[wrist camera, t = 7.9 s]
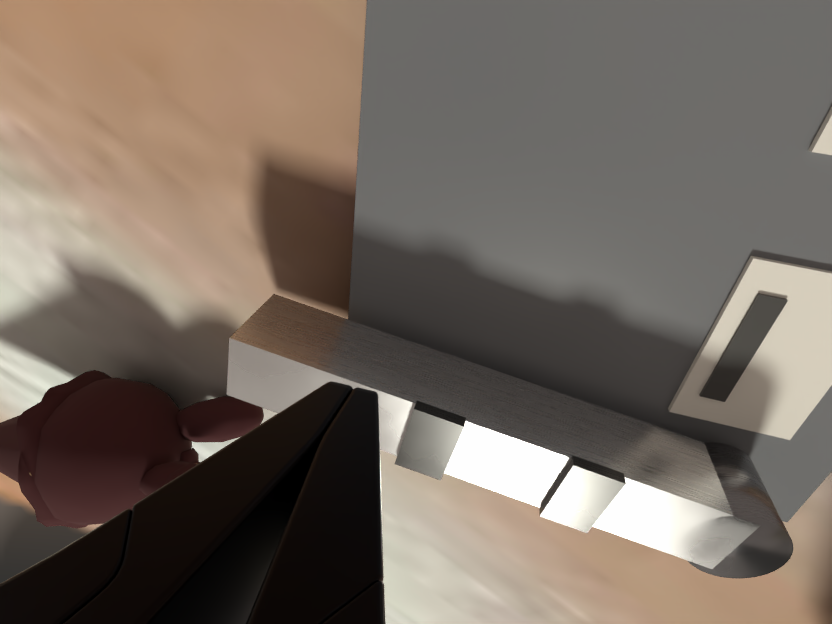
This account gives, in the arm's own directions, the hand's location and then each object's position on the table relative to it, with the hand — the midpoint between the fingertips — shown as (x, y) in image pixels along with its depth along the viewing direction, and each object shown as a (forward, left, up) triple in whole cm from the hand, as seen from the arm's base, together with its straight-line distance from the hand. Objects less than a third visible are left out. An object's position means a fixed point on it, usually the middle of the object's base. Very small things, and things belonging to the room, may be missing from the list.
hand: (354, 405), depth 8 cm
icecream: (-13, +14, -10) cm, 22 cm away
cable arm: (-6, -3, -8) cm, 11 cm away
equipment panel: (+1, -6, -10) cm, 12 cm away
